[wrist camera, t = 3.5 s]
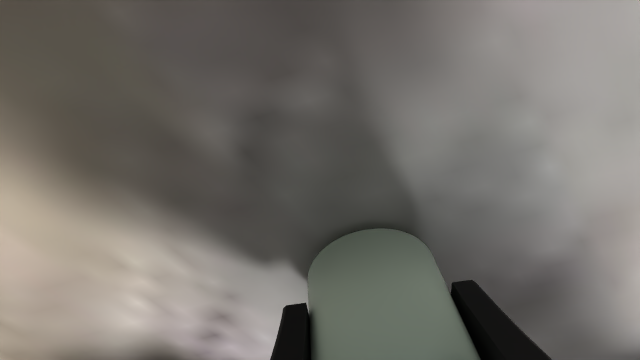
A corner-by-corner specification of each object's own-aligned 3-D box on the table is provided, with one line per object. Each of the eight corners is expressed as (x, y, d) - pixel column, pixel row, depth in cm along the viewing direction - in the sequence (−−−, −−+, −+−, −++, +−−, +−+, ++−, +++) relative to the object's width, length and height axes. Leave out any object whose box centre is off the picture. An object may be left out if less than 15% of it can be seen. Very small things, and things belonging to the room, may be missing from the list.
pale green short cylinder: (438, 219, 11) (502, 337, 7) (431, 308, 13) (478, 428, 10) (297, 239, 11) (299, 365, 8) (316, 324, 13) (324, 448, 10)
